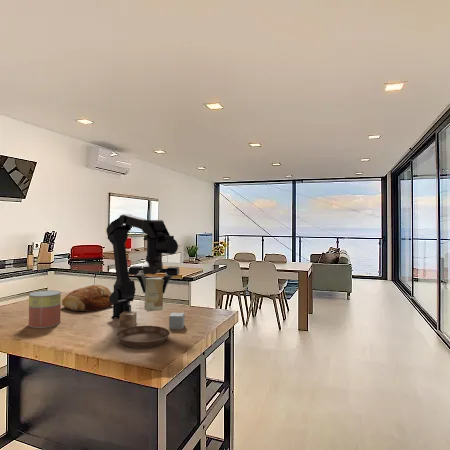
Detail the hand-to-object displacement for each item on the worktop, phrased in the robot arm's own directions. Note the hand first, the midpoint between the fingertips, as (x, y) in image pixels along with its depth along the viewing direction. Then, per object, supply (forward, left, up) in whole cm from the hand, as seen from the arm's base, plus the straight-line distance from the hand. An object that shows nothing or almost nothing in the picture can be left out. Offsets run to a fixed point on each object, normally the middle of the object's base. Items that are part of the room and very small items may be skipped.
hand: (154, 293), depth 139 cm
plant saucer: (+1, -17, -13) cm, 21 cm away
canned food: (-43, 0, -13) cm, 45 cm away
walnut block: (-10, 0, -13) cm, 16 cm away
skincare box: (0, 0, -7) cm, 7 cm away
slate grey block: (+9, 0, -13) cm, 16 cm away
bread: (-39, +28, -13) cm, 50 cm away
